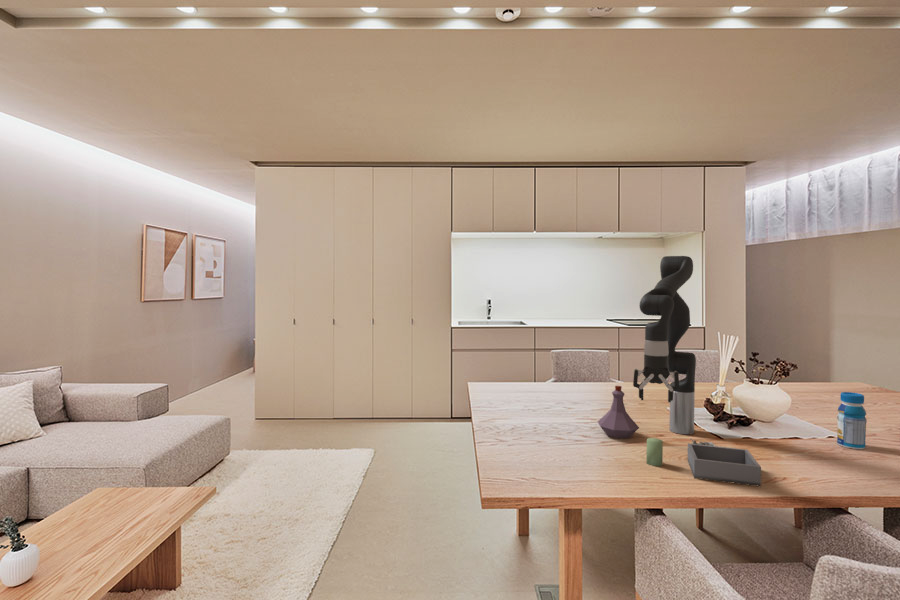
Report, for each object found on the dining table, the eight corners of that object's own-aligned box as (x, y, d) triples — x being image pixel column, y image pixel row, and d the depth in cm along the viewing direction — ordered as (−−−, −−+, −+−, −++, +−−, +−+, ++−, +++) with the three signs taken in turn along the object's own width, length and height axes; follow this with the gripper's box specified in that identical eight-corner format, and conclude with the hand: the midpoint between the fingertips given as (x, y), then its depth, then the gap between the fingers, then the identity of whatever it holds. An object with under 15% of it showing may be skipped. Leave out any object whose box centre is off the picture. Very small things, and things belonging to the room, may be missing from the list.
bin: (687, 460, 162) (687, 443, 162) (747, 467, 156) (747, 449, 155) (694, 478, 147) (694, 459, 147) (760, 486, 141) (761, 467, 140)
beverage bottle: (855, 451, 171) (856, 397, 170) (830, 443, 179) (832, 392, 178) (871, 448, 173) (873, 395, 172) (846, 441, 181) (848, 390, 180)
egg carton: (688, 448, 175) (688, 437, 175) (710, 449, 174) (710, 438, 174) (700, 458, 164) (700, 447, 164) (722, 459, 163) (723, 448, 163)
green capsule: (646, 460, 162) (646, 437, 162) (661, 461, 161) (662, 439, 160) (646, 465, 158) (647, 441, 157) (663, 467, 156) (663, 443, 156)
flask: (601, 426, 201) (602, 380, 200) (642, 432, 192) (643, 384, 192) (592, 437, 187) (592, 387, 186) (635, 444, 178) (636, 392, 178)
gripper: (678, 353, 159) (677, 400, 159) (633, 351, 164) (632, 396, 164) (680, 356, 152) (679, 405, 152) (633, 354, 157) (633, 401, 157)
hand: (655, 400), depth 158 cm, fingers open, 8 cm apart
